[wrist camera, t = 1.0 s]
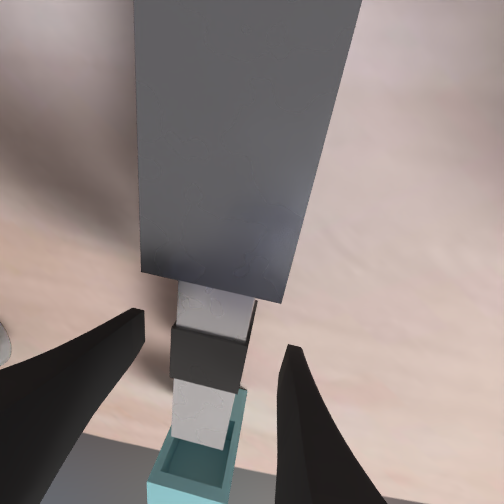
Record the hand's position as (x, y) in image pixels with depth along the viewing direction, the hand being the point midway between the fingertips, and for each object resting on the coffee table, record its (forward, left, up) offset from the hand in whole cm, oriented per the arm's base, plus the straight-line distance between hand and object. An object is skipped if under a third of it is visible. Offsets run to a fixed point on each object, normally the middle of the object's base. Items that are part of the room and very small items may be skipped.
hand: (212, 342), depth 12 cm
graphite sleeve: (0, -10, -5) cm, 11 cm away
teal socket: (0, +11, -5) cm, 12 cm away
